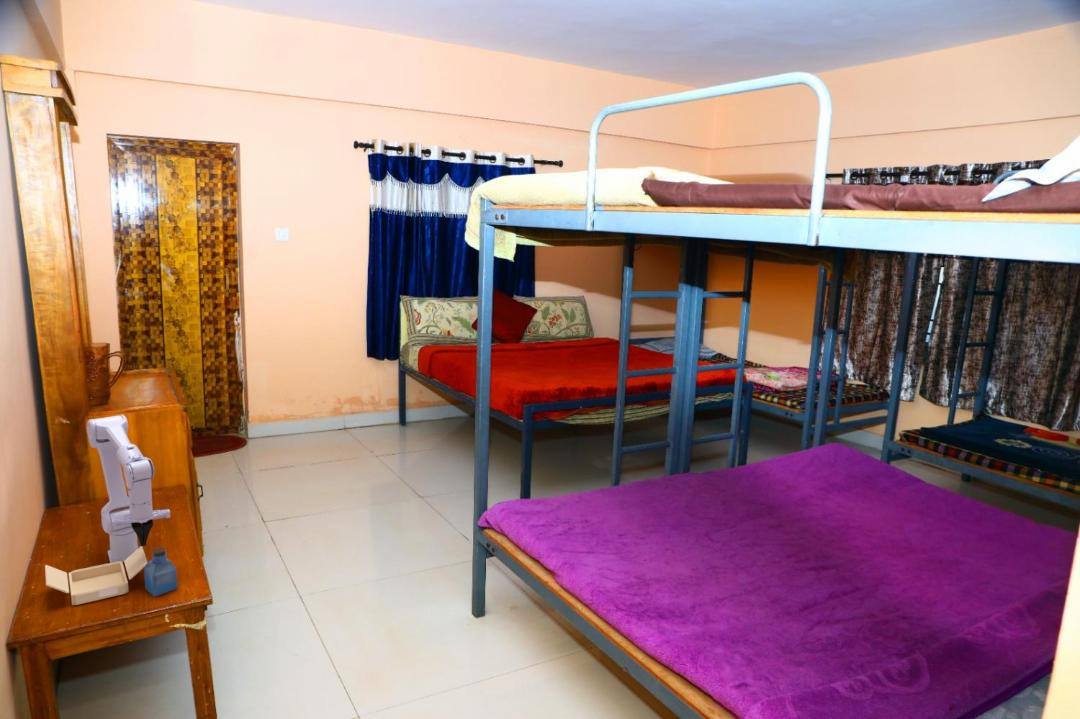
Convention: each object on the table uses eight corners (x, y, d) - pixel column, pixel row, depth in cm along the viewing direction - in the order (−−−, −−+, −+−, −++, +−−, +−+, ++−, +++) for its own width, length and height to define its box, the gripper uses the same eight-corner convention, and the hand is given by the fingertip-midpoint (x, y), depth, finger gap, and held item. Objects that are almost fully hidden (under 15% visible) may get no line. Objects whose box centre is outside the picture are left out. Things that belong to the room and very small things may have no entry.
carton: (69, 581, 198) (68, 571, 198) (122, 569, 206) (121, 560, 206) (72, 606, 186) (71, 596, 186) (128, 593, 194) (128, 583, 194)
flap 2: (124, 560, 204) (141, 545, 206) (125, 561, 205) (142, 546, 207) (129, 579, 195) (146, 563, 197) (130, 579, 195) (148, 563, 197)
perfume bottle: (167, 580, 202) (165, 542, 200) (177, 588, 198) (175, 550, 196) (145, 588, 197) (142, 549, 195) (154, 596, 194) (152, 557, 191)
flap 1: (65, 573, 196) (44, 566, 193) (66, 572, 196) (45, 564, 193) (68, 593, 187) (46, 585, 183) (69, 592, 187) (47, 584, 183)
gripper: (112, 511, 191) (115, 556, 194) (171, 501, 199) (173, 544, 202) (109, 501, 196) (112, 545, 199) (167, 492, 205) (169, 534, 208)
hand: (143, 544), depth 201 cm, fingers closed
